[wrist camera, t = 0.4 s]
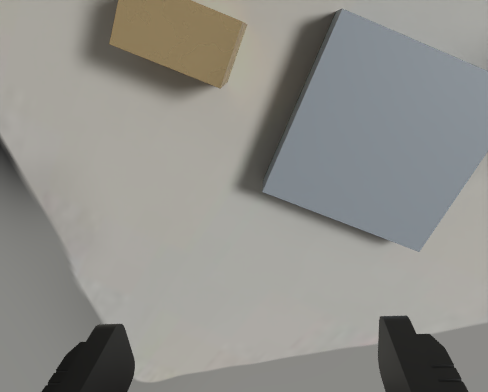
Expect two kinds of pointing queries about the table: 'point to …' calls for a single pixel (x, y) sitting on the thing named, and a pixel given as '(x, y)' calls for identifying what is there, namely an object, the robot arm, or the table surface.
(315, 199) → the slate board
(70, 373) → the robot arm
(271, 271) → the table surface
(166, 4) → the tan rectangular block
